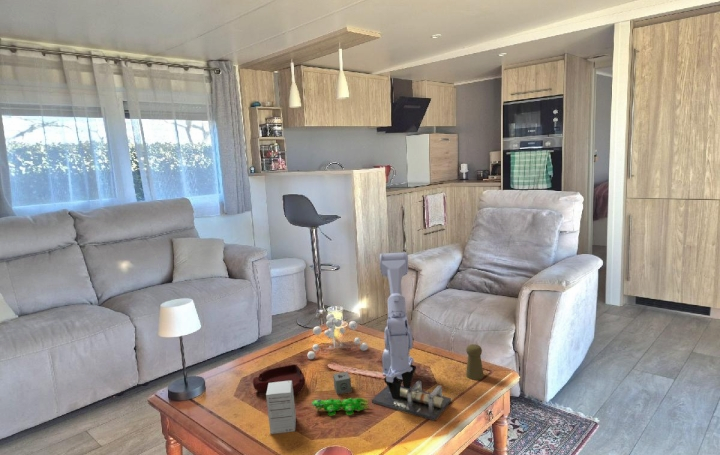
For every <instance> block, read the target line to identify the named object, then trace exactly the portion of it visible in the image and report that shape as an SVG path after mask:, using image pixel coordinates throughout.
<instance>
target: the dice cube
mask: <svg viewBox="0 0 720 455" xmlns="http://www.w3.org/2000/svg"><path fill="white" fill-rule="evenodd" d="M332 376H333V386H334V388H333V389H334V390H335V393H336V395H337V396H338V395H343V394H344V395H345V394H348V393H352V392H353V391H352V380H351V376H350V375H349V372H348V371H343V372H339V373H338V372H337V373H333V374H332Z"/></svg>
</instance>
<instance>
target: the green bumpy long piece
mask: <svg viewBox="0 0 720 455" xmlns="http://www.w3.org/2000/svg"><path fill="white" fill-rule="evenodd" d="M368 402H369V400H368V399H366V398H360V397H355V398H353V397H350V398H347V399H346V398H344V399H340V398H338V399H333V398H332V397H330V398H329V399H328V398H327V399H325V400H324V399H320V398H318V399H315V400H313V401H312V402H311V404H312V406H314V407H315V408H316V411H317V412H319V411H320V410H321V409H322V410H325V411H326V412H327V415H328V416H335V415H337V413H336V411H337V412H339V411H341V410H343V411H344V412H345V415H347V416H351V415H353V414H354V411H357V412H360V411H362V410H366V409H369V405H370V403H368Z"/></svg>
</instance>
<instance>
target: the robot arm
mask: <svg viewBox="0 0 720 455" xmlns="http://www.w3.org/2000/svg"><path fill="white" fill-rule="evenodd" d="M408 255H409V254H408V253H407V251H404V252H389V253H383V252H380V254H379V268H380V269H379V270H380V274H382V275H381V276H383V277H385V278H387V279H388V280H387V281H388V284H389V296H388V298H387V301H386V302H387V320H386V326H385V328H384V349H383V351H382V352H383V353H382V358H381V359H382V374H384V375H383V376H385V375H386V376H385V377H384V379H383V380H384V382H385V384H386V386H387V385H388V387H389V389H390V392H391V395H392V398H393V399H396V400H399V398H400V387H401V386H404V387H405V388H409V389H410V388H411V387H412V382H413V378H414V374H415V372H416V370H417V366H416V365H413V364H414V357H413V356H412V357H411V356H410V352H411V350H412V349H413V348H414V343H413V333H412V332H413V331H412V328H411V326H410V325H409V319H408V316H407V307H406V299H405V296H404V295H402V280H403V277H404V276H406V275H408V272H409V256H408ZM382 374H381V375H382Z"/></svg>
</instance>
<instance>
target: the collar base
mask: <svg viewBox="0 0 720 455" xmlns="http://www.w3.org/2000/svg"><path fill="white" fill-rule="evenodd" d="M442 386H443V385H439V384H438V385H437V386H436V387H435V388H434V389H433V391H432V392H429V391H423V389H422V388H423V387H422V381H421V380H417V381H416V382H415V383H414V384H413V385H411V387H410V389H409V388H406V389H409V390H408V391H407V393H408V399H405V398H401V397H400V398H399V400H396V399H393V398H392V395H391V392H390V389H389V387H388V385H387V384H386V386H385V387H384V388H383V389H381V391H380V392H378V393H377V395H375V396H374V397H373V398H372V399H371V403H372V404H376V405H379V406H382V407H386V408H390V409H393V410H395V411H400V412H404V413H407V414H409V415H414V416H418V417H421V418H424V419H428V420H430V421H431V420H432V421H434V422H436V421H437V419H439V417H440V416H441V414H442V413H443V412H444V411H445V409H446V408H447V407H448V406H449V404H450V403H451V402H452V398H451V397H447V396H444V395H443V387H442ZM401 387H402V388H405V387H404V386H403V385H401ZM414 391H417V392H421V393H425V394H429V396H428V404H429V405H427V404H423V403H420V402H416V401H413V392H414ZM435 396H437V397H441V398H443V400H444V403H443V406H442V408H438V407H434V397H435Z"/></svg>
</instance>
